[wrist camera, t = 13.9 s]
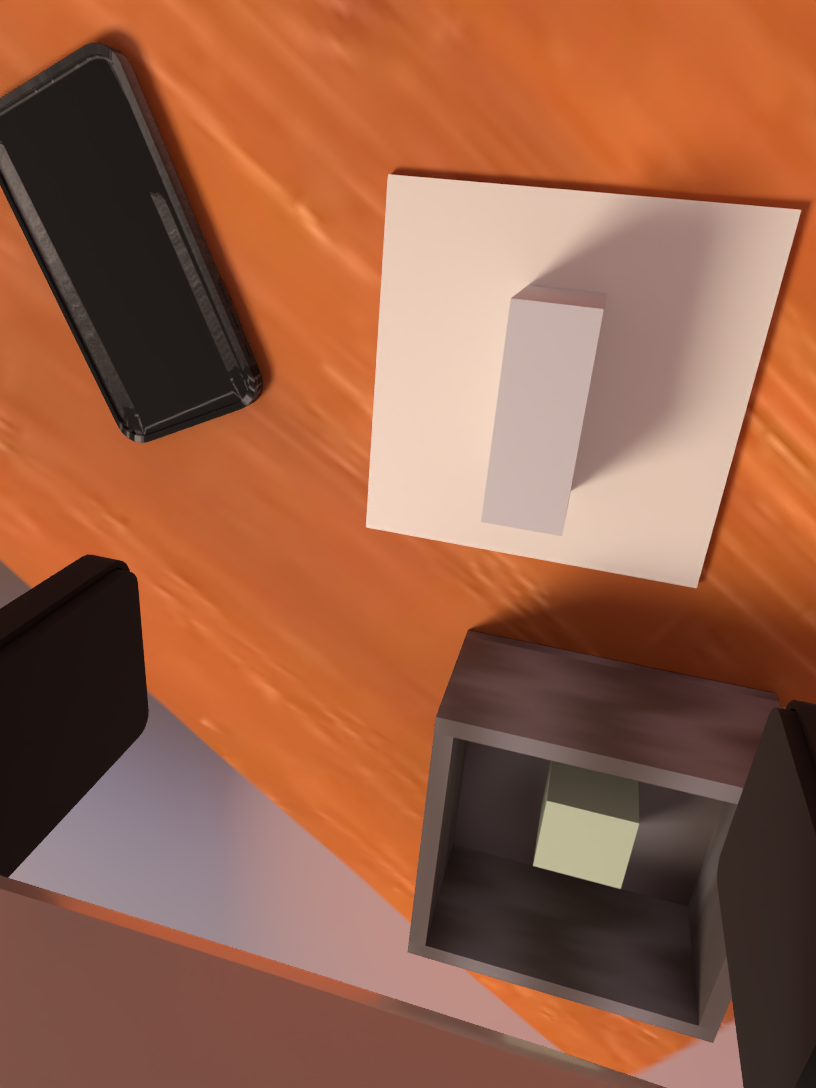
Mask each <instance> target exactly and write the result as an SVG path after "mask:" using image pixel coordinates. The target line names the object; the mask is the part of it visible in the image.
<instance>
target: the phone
mask: <svg viewBox="0 0 816 1088" xmlns="http://www.w3.org/2000/svg"><path fill="white" fill-rule="evenodd" d="M0 186H1V188H2V190H3V192H4V194H5V196H6V198H7V200H8V202H9V204H10V206H11V208H12V210H13V212H14V214H15V217H16V219H17V221H18V223H19V225H20V227H21V229H22V231H23V233H24V235H25V237H26V239H27V241H28V243H29V245H30V247H31V249H32V251H33V253H34V255H35V257H36V260H37V262H38V264H39V266H40V268H41V270H42V272H43V274H44V276H45V278H46V280H47V282H48V284H49V286H50V288H51V290H52V292H53V294H54V296H55V298H56V300H57V303H58V305H59V307H60V309H61V311H62V313H63V315H64V317H65V319H66V321H67V323H68V325H69V327H70V329H71V331H72V333H73V335H74V337H75V339H76V341H77V343H78V345H79V348H80V350H81V352H82V354H83V356H84V358H85V360H86V362H87V364H88V366H89V368H90V370H91V372H92V374H93V376H94V378H95V380H96V382H97V384H98V386H99V388H100V391H101V393H102V395H103V397H104V399H105V401H106V403H107V405H108V407H109V409H110V411H111V413H112V415H113V417H114V419H115V421H116V423H117V425H118V427H119V429H120V430H121V432H122V433H123V434H124V435H125V436H126V437H127V438H129V439H131V440H132V441H134V442H139V443H145V442H149V441H152V440H155V439H158V438H161V437H163V436H166V435H169V434H172V433H175V432H177V431H180V430H183V429H186V428H189V427H192V426H194V425H197V424H200V423H203V422H206V421H209V420H211V419H214V418H217V417H220V416H223V415H226V414H228V413H231V412H234V411H237V410H240V409H242V408H244V407H246V406H248V405H250V404H251V403H253V402H255V401H256V400H257V399H258V397H259V396H260V394H261V391H262V377H261V373H260V371H259V368H258V366H257V363H256V361H255V359H254V356H253V354H252V352H251V349H250V347H249V344H248V342H247V340H246V337H245V335H244V332H243V330H242V327H241V325H240V323H239V320H238V318H237V315H236V313H235V311H234V309H233V306H232V304H231V300H230V298H229V295H228V293H227V291H226V288H225V286H224V283H223V282H222V280H221V278H220V275H219V273H218V270H217V268H216V266H215V263H214V261H213V259H212V256H211V254H210V251H209V249H208V247H207V244H206V242H205V239H204V237H203V235H202V232H201V230H200V228H199V225H198V223H197V220H196V218H195V216H194V213H193V211H192V208H191V206H190V204H189V201H188V199H187V197H186V194H185V192H184V189H183V187H182V185H181V182H180V180H179V177H178V175H177V173H176V170H175V168H174V166H173V163H172V161H171V158H170V156H169V154H168V151H167V149H166V146H165V144H164V142H163V139H162V137H161V135H160V132H159V130H158V127H157V125H156V123H155V120H154V118H153V115H152V113H151V111H150V108H149V106H148V104H147V101H146V99H145V96H144V94H143V92H142V89H141V87H140V84H139V82H138V80H137V77H136V75H135V73H134V70H133V68H132V66H131V64H130V62H129V61H128V59H127V58H126V57H125V56H124V55H123V54H122V53H121V52H120V51H119V50H117V49H115V48H113V47H110V46H107V45H103V44H99V43H90V44H88V45H85V46H83V47H82V48H80V49H78V50H77V51H75V52H74V53H72V54H70V55H69V56H67V57H66V58H64V59H62V60H61V61H59V62H58V63H56V64H54V65H53V66H51V67H50V68H48V69H46V70H45V71H43V72H42V73H40V74H38V75H37V76H35V77H34V78H32V79H30V80H29V81H27V82H26V83H24V84H22V85H21V86H19V87H18V88H16V89H14V90H13V91H11V92H10V93H8V94H6V95H5V96H3V97H2V98H0Z"/></svg>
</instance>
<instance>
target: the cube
mask: <svg viewBox="0 0 816 1088" xmlns="http://www.w3.org/2000/svg"><path fill="white" fill-rule="evenodd" d="M638 827H639V787H638V781H636V780H632V779H628V778H624V777H619V776H615V775H611V774H607V773H602V772H598V771H594V770H590V769H585V768H581V767H577V766H573V765H568V764H564V763H560V762H556V761H551V762H550V767H549V771H548V776H547V781H546V786H545V791H544V796H543V800H542V805H541V812H540V819H539V827H538V834H537V841H536V848H535V855H534V863H533V866H536V867H539V868H543V869H547V870H551V871H555V872H558V873H562V874H566V875H570V876H574V877H577V878H581V879H585V880H589V881H592V882H596V883H600V884H604V885H608V886H611V887H615V888H619V889H621V886H622V883H623V879H624V876H625V872H626V869H627V865H628V862H629V858H630V855H631V851H632V848H633V844H634V841H635V837H636V834H637V830H638Z"/></svg>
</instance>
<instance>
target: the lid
mask: <svg viewBox="0 0 816 1088" xmlns="http://www.w3.org/2000/svg"><path fill="white" fill-rule="evenodd" d="M800 213H801V210H799V209H787V208H775V207H764V206H752V205H740V204H729V203H717V202H705V201H694V200H682V199H670V198H659V197H647V196H635V195H624V194H612V193H600V192H589V191H577V190H565V189H554V188H542V187H530V186H519V185H507V184H495V183H484V182H472V181H460V180H449V179H437V178H425V177H414V176H402V175H390V174H388V183H387V199H386V215H385V231H384V247H383V263H382V279H381V295H380V311H379V327H378V343H377V359H376V375H375V391H374V407H373V423H372V439H371V455H370V471H369V487H368V503H367V519H366V527H367V528H373V529H378V530H384V531H389V532H394V533H400V534H405V535H411V536H416V537H421V538H427V539H432V540H438V541H443V542H449V543H454V544H459V545H465V546H470V547H476V548H481V549H486V550H492V551H497V552H503V553H508V554H514V555H519V556H524V557H530V558H535V559H541V560H546V561H551V562H557V563H562V564H568V565H573V566H579V567H584V568H589V569H595V570H600V571H606V572H611V573H616V574H622V575H627V576H633V577H638V578H644V579H649V580H654V581H660V582H665V583H671V584H676V585H681V586H687V587H692V588H697V585H698V582H699V578H700V574H701V571H702V567H703V563H704V560H705V556H706V553H707V549H708V545H709V542H710V538H711V535H712V531H713V527H714V524H715V520H716V517H717V513H718V509H719V506H720V502H721V498H722V495H723V491H724V488H725V484H726V480H727V477H728V473H729V470H730V466H731V462H732V459H733V455H734V452H735V448H736V444H737V441H738V437H739V433H740V430H741V426H742V423H743V419H744V415H745V412H746V408H747V405H748V401H749V397H750V394H751V390H752V387H753V383H754V379H755V376H756V372H757V369H758V365H759V361H760V358H761V354H762V350H763V347H764V343H765V340H766V336H767V332H768V329H769V325H770V322H771V318H772V314H773V311H774V307H775V304H776V300H777V296H778V293H779V289H780V285H781V282H782V278H783V275H784V271H785V267H786V264H787V260H788V257H789V253H790V249H791V246H792V242H793V239H794V235H795V231H796V228H797V224H798V221H799V217H800Z"/></svg>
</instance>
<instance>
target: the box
mask: <svg viewBox="0 0 816 1088" xmlns="http://www.w3.org/2000/svg"><path fill="white" fill-rule="evenodd" d="M775 707H777V708H781V706H780V703H779V700H778V697H777V694H776V693H771V692H766V691H761V690H756V689H751V688H747V687H742V686H737V685H732V684H727V683H722V682H718V681H713V680H708V679H703V678H698V677H693V676H688V675H684V674H679V673H674V672H669V671H664V670H659V669H655V668H650V667H645V666H640V665H635V664H630V663H625V662H621V661H616V660H611V659H606V658H601V657H596V656H592V655H587V654H582V653H577V652H572V651H567V650H562V649H558V648H553V647H548V646H543V645H538V644H533V643H529V642H524V641H519V640H514V639H509V638H504V637H499V636H495V635H490V634H485V633H480V632H475V631H470V630H468V632H467V634H466V637H465V640H464V643H463V645H462V648H461V651H460V653H459V656H458V659H457V661H456V664H455V667H454V670H453V672H452V675H451V678H450V680H449V683H448V686H447V688H446V691H445V694H444V697H443V699H442V702H441V705H440V707H439V710H438V713H437V716H436V721H435V729H434V738H433V746H432V754H431V762H430V771H429V779H428V787H427V796H426V804H425V812H424V820H423V829H422V837H421V845H420V853H419V862H418V870H417V878H416V887H415V895H414V903H413V911H412V920H411V928H410V937H409V946H408V952H409V953H412V954H415V955H419V956H422V957H425V958H429V959H432V960H436V961H439V962H442V963H446V964H449V965H452V966H456V967H459V968H463V969H466V970H469V971H473V972H476V973H479V974H483V975H486V976H489V977H493V978H496V979H500V980H503V981H506V982H510V983H513V984H516V985H520V986H523V987H527V988H530V989H533V990H537V991H540V992H543V993H547V994H550V995H553V996H557V997H560V998H564V999H567V1000H570V1001H574V1002H577V1003H580V1004H584V1005H587V1006H591V1007H594V1008H597V1009H601V1010H604V1011H607V1012H611V1013H614V1014H617V1015H621V1016H624V1017H628V1018H631V1019H634V1020H638V1021H641V1022H644V1023H648V1024H651V1025H655V1026H658V1027H661V1028H665V1029H668V1030H671V1031H675V1032H678V1033H681V1034H685V1035H688V1036H692V1037H695V1038H698V1039H702V1040H705V1041H708V1042H712V1043H713V1042H714V1039H715V1037H716V1035H717V1032H718V1030H719V1027H720V1025H721V1022H722V1020H723V1017H724V1015H725V1013H726V1010H727V1008H728V1005H729V1003H730V1000H731V998H732V994H731V986H730V979H729V971H728V963H727V956H726V948H725V940H724V933H723V925H722V917H721V910H720V902H719V894H718V886H717V870H718V862H719V858H720V854H721V851H722V848H723V845H724V842H725V840H726V837H727V834H728V831H729V828H730V825H731V822H732V819H733V817H734V814H735V811H736V808H737V805H738V802H739V799H740V796H741V794H742V791H743V788H744V785H745V782H746V779H747V776H748V773H749V771H750V768H751V765H752V762H753V759H754V756H755V753H756V750H757V748H758V745H759V742H760V739H761V736H762V733H763V730H764V727H765V725H766V722H767V719H768V716H769V714H770V712H771V710H772V709H773V708H775ZM551 761H556V762H560V763H564V764H568V765H573V766H577V767H581V768H585V769H590V770H594V771H598V772H602V773H607V774H611V775H615V776H619V777H624V778H628V779H632V780H636V781H638V787H639V827H638V830H637V834H636V837H635V841H634V844H633V848H632V851H631V855H630V858H629V862H628V865H627V869H626V872H625V876H624V879H623V883H622V886H621V889H619V888H615V887H611V886H608V885H604V884H600V883H596V882H592V881H589V880H585V879H581V878H577V877H574V876H570V875H566V874H562V873H558V872H555V871H551V870H547V869H543V868H539V867H536V866H533V863H534V855H535V848H536V841H537V834H538V827H539V819H540V812H541V805H542V800H543V796H544V791H545V786H546V781H547V776H548V771H549V767H550V762H551Z"/></svg>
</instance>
